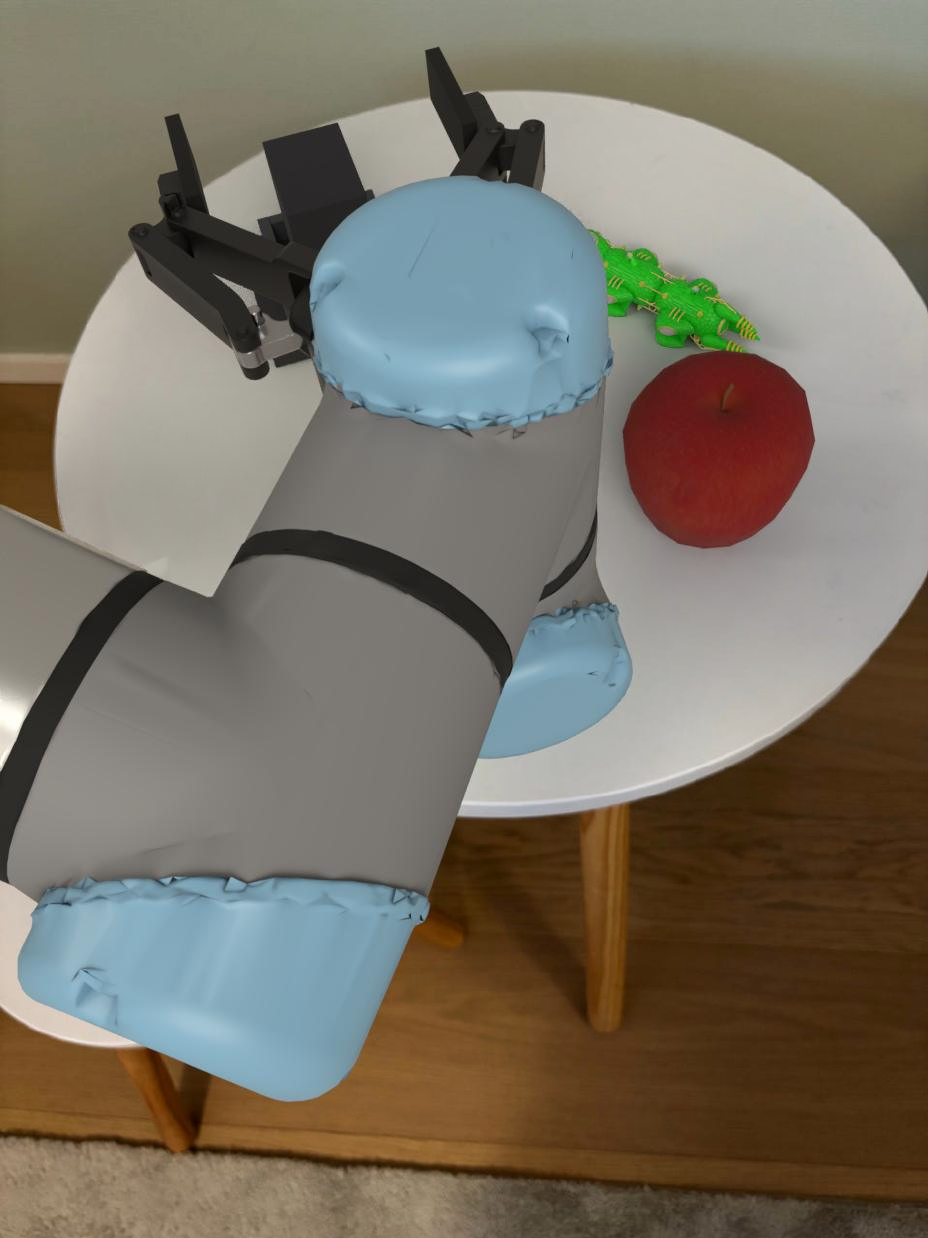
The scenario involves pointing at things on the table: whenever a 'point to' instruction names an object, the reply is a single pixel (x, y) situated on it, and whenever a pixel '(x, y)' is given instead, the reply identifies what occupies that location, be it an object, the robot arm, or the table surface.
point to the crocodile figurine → (670, 299)
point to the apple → (717, 446)
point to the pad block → (314, 183)
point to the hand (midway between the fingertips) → (308, 105)
